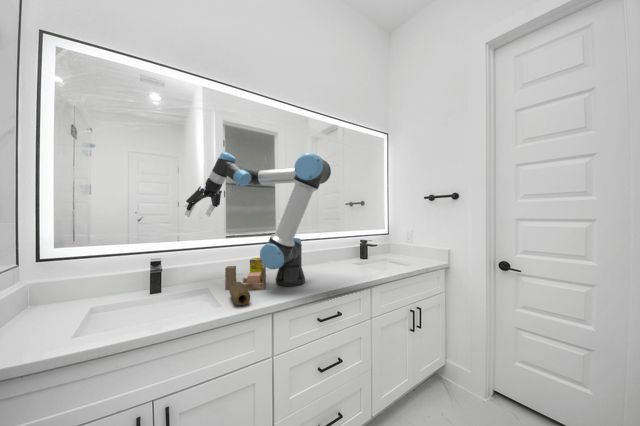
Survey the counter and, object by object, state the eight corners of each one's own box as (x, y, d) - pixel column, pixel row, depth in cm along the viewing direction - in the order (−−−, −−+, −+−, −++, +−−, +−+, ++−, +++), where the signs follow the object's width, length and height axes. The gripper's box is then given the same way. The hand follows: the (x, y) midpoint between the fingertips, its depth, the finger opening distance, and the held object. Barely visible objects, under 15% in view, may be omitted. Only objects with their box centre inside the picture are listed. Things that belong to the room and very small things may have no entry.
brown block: (261, 283, 119) (261, 264, 120) (260, 288, 113) (260, 267, 113) (228, 285, 117) (227, 265, 117) (224, 290, 110) (224, 268, 110)
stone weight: (226, 297, 101) (226, 281, 101) (243, 294, 105) (243, 279, 105) (234, 309, 88) (234, 291, 89) (253, 305, 92) (253, 287, 92)
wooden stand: (265, 282, 122) (265, 263, 122) (264, 289, 111) (264, 268, 111) (243, 284, 120) (243, 264, 120) (239, 291, 109) (239, 269, 109)
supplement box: (260, 279, 128) (260, 259, 128) (249, 279, 128) (249, 259, 128) (263, 276, 134) (263, 257, 134) (252, 276, 134) (252, 257, 134)
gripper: (227, 180, 134) (210, 211, 138) (190, 173, 111) (171, 211, 114) (236, 187, 132) (219, 218, 136) (201, 181, 109) (181, 219, 112)
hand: (197, 215), depth 125 cm, fingers open, 13 cm apart
